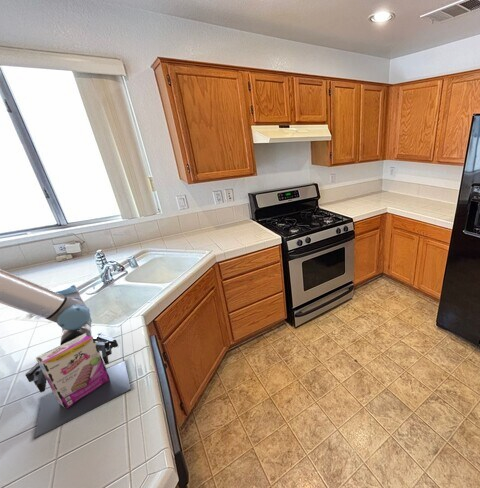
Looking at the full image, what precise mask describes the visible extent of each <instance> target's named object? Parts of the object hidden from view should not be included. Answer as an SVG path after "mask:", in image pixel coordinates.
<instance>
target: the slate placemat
mask: <svg viewBox="0 0 480 488" xmlns="http://www.w3.org/2000/svg"><path fill="white" fill-rule="evenodd" d="M106 370H107V372H108V375H109V377H110V380H109V381H108V382H106V383H105V384H103V385H102V386H100V387H99V388H97V389H96V390H94V391H93V392H91V393H90V394H88V395H87V396H85V397H84V398H82V399H81V400H79V401H78V402H76V403H75V404H73V405H72V406H70V407H69V408H67V409H65V408H64V407H63V406H62V405H60V404H59V403H58V401H57V399H56V397H55V395H54V393H53V392H51V393H49V394H47V395H44V396H42V397H41V399H40V405H39V410H38V415H37V421H36V428H35V433H34V439H37V438H38V437H40V436H43V435H44V434H46V433H48V432H50V431H53V430H54V429H56V428H58V427H60V426H62V425H64V424H66V423H68V422H70V421H72V420H74V419H76V418H78V417H80V416H83V415H84V414H86V413H88V412H90V411H92V410H94V409H96V408H99V407H100V406H102V405H104V404H106V403H108V402H110V401H112V400H113V399H116V398H118V397H120V396H121V395H123V394H125V393H128V392H130V391H131V390H132V387H131V383H130V378H129V374H128V369H127V365H126V360H123V361H121V362H118V363H117V364H114V365H112V366H110V367H106Z"/></svg>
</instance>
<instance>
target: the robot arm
mask: <svg viewBox="0 0 480 488" xmlns="http://www.w3.org/2000/svg"><path fill="white" fill-rule="evenodd" d="M0 304H1V305H4V306H7V307H10V308H13V309H16V310H19V311H22V312H25V313H28V314H30V315H34V316H37V317H39V318H42V319H44V320H47V321H51V322H53V323H56V324H57V325H58V326H59V327H60V328H61V337H60V345H62V344H64V343H66V342H68V341H70V340H72V339H75V338H77V337H79V336H81V335H83V334H85V333H86V334H88V335H90V336H92V318H91V317H92V316H91V312H90V308H89V307H88V305H86V303H85V302H84V300H83V298H82V297H81V295H80V291H79V290H78V288H77V286H76V284H72V283H67V284H62V285H58V286H55V287H53V288H51V289H49V288H47V287H44V286H41V285H39V284H37V283H34V282H32V281H31V280H27V279H25V278H22V277H20V276H18V275H15V274H14V273H11V272H8V271H6V270H3V269H1V268H0ZM92 337H93V336H92ZM93 338H94V340H95V343H96V345H97V348H98V350H99V352H101V358H102V360H103V362H104V365H105V366H106V365H108V364H109V363H110V361H109V356H111V355H112V353H113V351H112V350H113V348H118V347H119V344H118V341H117V339H116V338H113V337H111V336H107V335H104V334H103V332H98V333H97V335H96V336H94V337H93ZM60 345H59V346H60ZM25 377H26V379H27V381H28V382H29V383H32V382H33V383H34V385H35V386H36V388H37V389H38V391H39V393H45V391H46V388H47V387H46V386H47V382H48V381H47V379H46V377H45V375H44V373H43V372H42V370H41V367H40V365H39V364H38V362H37V363H35V365H33V366H32V368H30V369H29V370H28V372H26V373H25Z"/></svg>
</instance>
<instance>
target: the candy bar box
mask: <svg viewBox="0 0 480 488" xmlns="http://www.w3.org/2000/svg"><path fill="white" fill-rule="evenodd" d="M95 342H96V341H95V340H94V337H93V336H90V335H88V334H86V333H85V334H83V335H81V336H79V337H77V338H75V339H72V340H70V341H68V342H66V343H64V344H62V345H58V346H56V347H55V348H53V349H50V350H48V351H46V352H44V353H42V354H40V355H38V356H35V359H36V362H37V363H38V364H39V365H40V367H41V370H42V372H43V373H44V375H45V377H46V379H47V381H46V382H47V383H48V385H49V387H50V390H51V391H52V393H54V395H55V397H56V399H57V401H58V403H59V404H60V405H62V406H63V407H64V408H65V409H67V408H69V407H70V406H72V405H73V404H75V403H76V402H78V401H79V400H81V399H82V398H84V397H85V396H87V395H88V394H90V393H91V392H93V391H94V390H96V389H97V388H99V387H100V386H102V385H103V384H105V383H106V382H108V381H109V380H110V377H109V375H108V372H107V370H106V369H107V367H106V365H105V363H104V360H103V358H102V354H101V353H100V351H99V350H98V348H97V345H96V343H95Z"/></svg>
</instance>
